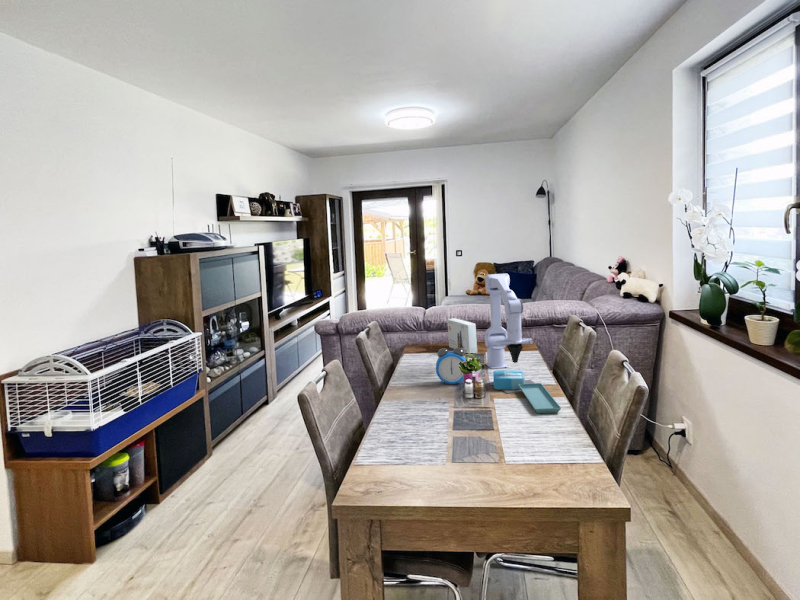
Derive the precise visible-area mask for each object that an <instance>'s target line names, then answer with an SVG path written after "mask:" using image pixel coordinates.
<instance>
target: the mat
mask: <svg viewBox="0 0 800 600" xmlns="http://www.w3.org/2000/svg"><path fill="white" fill-rule="evenodd" d="M532 383H535V382H534V381H533V380H531V379H525V384H532ZM501 391H503V392H504V393H505V394H507V395H509V394H518V393H519V394H520V393H523V392H522V391H521V389H501Z"/></svg>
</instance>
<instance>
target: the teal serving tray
mask: <svg viewBox="0 0 800 600" xmlns="http://www.w3.org/2000/svg"><path fill="white" fill-rule="evenodd" d="M518 385H519V387H520V389H521V391H522V392H521V393H522V394H523V395H524V397H525V398H526V400H527V401H528V403H529V404H530V405H531V407H532V408H533V410H534V411H535V412H536V414H555V413H559V412H560V411H561V408H562V407H561V406H560V405H559V403H558V402H557V401H556V400H555V398H554V397H553V396H552V395H551V393H550V392H549V391H548V390H547V388H546V387H545V386H544V384H542V383H541V382H537V383H536V382H534V383H532V384H518Z"/></svg>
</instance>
